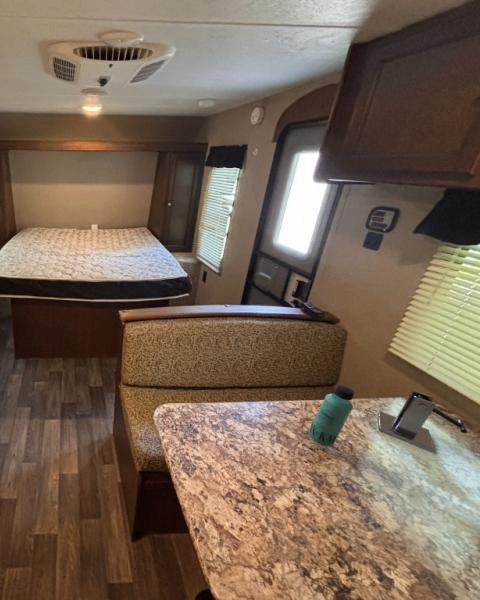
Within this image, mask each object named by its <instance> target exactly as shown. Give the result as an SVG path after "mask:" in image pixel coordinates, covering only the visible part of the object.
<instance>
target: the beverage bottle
mask: <svg viewBox="0 0 480 600" xmlns="http://www.w3.org/2000/svg"><path fill="white" fill-rule="evenodd" d="M354 395H355V391H354V390H353V389H351V388H350V387H348V386H346V385H342V384H339V385H337V386H335V389H334V390H333V393H328V394H326V395H325V397H324V400H323V401H322V404H321V406H320V407H319V408H318V410H317V412H316V414H315V416H314V418H313V421H312V422H311V424H310V426H309V429H308V436H309V438H310V439H311V440H312V441H314V442H315V443H316V444H318V445H321V446H324V447H332V446H333V445H334V444H335V443H336V441H337V440H338V438H339V436H340V435H341V432H342V430H343V427H344V426H345V424H346V422H347V419H348V418H349V416H350V414H351V412H352V411H353V410H354V405H353V403H352V402H351V401H352V400H353V398H354Z"/></svg>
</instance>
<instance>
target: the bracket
mask: <svg viewBox="0 0 480 600" xmlns="http://www.w3.org/2000/svg"><path fill="white" fill-rule="evenodd" d="M418 395H421V396H423V397H424V398H426V399H428V400H429V401H427V400H424V399H421V398H418V397H416V396H418ZM413 398H414V399H413ZM412 399H413V400H412ZM434 399H435V397H434V396H433V395H430V394H428V393H424V392H421V391H418V390H415V389H413V390H412V391H411V393H410V394H409V396H408V397H407V399H406V401H405V402H404V404H403V406H402V408H401V409H400V411H399V413H398V414H397V416H395V415H392V414H389V413H387V412H384V411H381V410H378V412H377V424H378V425H377V427H378V432H379V431H380V432H381V433H384V434H386V433H387V434H386V435H389V436H392V437H394V438H396V439H398V440H401V441H403V442H406V443H408V444H411V445H414V446H416V447H418V448H420V449H423V450H426V451H428V452H430V453H432V452H433V451H434V450H435V449H434V445H433V441H432V437H431V432H430V430H429V429H428V428H426V427H423V425H424V424H425V423H426V421H427V420H428V418H429V417H430V415H431V414H432V412H433V411H432V410H433V409H434V407H435V408H436V406H437V404H436V403H435V402H433V401H434Z"/></svg>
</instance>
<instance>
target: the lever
mask: <svg viewBox="0 0 480 600" xmlns="http://www.w3.org/2000/svg"><path fill="white" fill-rule="evenodd" d="M416 397H418V398H421V399H424V400H427V401H429V400H428V399H426V398H424V397H423V396H421V395H418V396H416ZM413 399H414V398H413ZM413 399H412V400H413ZM432 412H433V413H435V414H437V416H440V417H441V418H443V419H445V420H446V421H448V422H449V423H451V424H453V425H455V427H458V428H459V430H460V432H461V433H462V434H467V433H468V430H467V427H466V425H465V422H464V420H462V419H455V418H454V417H452V416H450V415H448V414H447V413H445V412H444V411H442V410H440V409H439V408H437V407H436V406H435V407H434V409H433V410H432Z"/></svg>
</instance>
